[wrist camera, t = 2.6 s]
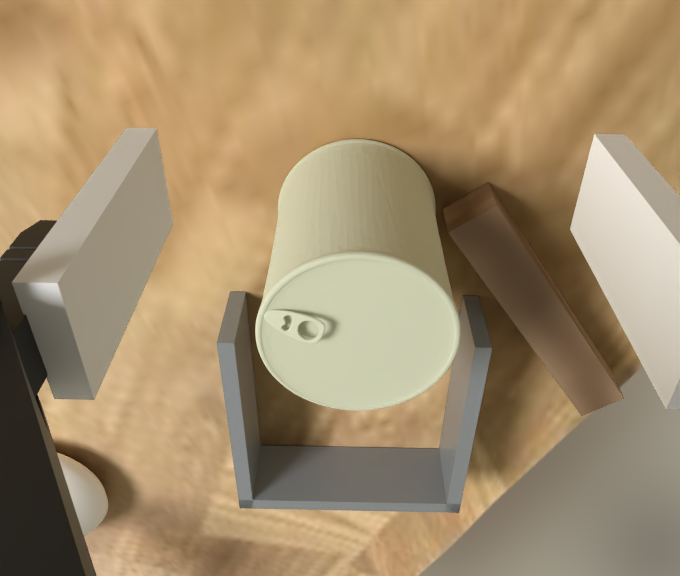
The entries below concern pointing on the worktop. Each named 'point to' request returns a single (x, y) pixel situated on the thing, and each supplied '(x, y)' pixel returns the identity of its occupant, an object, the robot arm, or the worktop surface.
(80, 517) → the flower in vase
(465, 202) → the bar
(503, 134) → the worktop surface
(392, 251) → the can
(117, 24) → the worktop surface
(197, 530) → the worktop surface
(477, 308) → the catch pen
